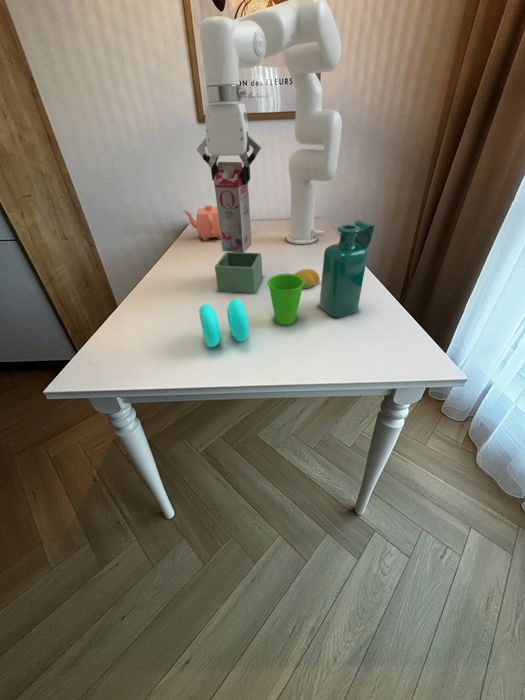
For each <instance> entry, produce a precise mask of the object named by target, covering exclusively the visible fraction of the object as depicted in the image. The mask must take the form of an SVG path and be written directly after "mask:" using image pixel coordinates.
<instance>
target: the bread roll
mask: <svg viewBox="0 0 525 700" xmlns="http://www.w3.org/2000/svg"><path fill="white" fill-rule="evenodd" d="M293 274H295V275H298V276H300V277H302V278H303V279H304V281H305V284H304V286H303V287H302V289H310V288H312V287H313V286H316V285H317V284H318V283H320V279H321V278H320V275H319V273H318V272H317V270H314V269H311V268H305V269H300V270H298V271H296V272H295V273H293Z"/></svg>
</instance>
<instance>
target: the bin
mask: <svg viewBox="0 0 525 700" xmlns="http://www.w3.org/2000/svg"><path fill="white" fill-rule="evenodd" d="M262 260H263V258H262V253H261V252H244V253H238V252H228V251H225V252H224V254H223V255H222V257H221V258H220V259H219V260H218V261H217V263H216V264H215V266H214V270H215V271H214V272H215V278H216V286H217V292H226V293H242V294H243V293H244V294H256V291H257V290H258V288H259V285H260V283H261V280H262V278H263V261H262Z"/></svg>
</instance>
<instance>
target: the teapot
mask: <svg viewBox="0 0 525 700" xmlns="http://www.w3.org/2000/svg"><path fill="white" fill-rule="evenodd" d="M181 211H182V212H183V213H185V214H186V215H187V217H188V220H189V223H190V225H191V226H192V227H193V228H194V229H196V230H197V233H198V235H199V237H200V238H202V241H203V242H205V241H209V240H210V238H216V239H217V240H221V235H220V226H219V218H218V210H217V206H213V205H212V204H211V205H210V204H207V205H204V207H200V208H198V209H197V210H196V220H195V219H194V217H193V216H192V213H191V212H190V211H189V210H185V209H184V210H181Z"/></svg>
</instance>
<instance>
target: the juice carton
mask: <svg viewBox="0 0 525 700" xmlns="http://www.w3.org/2000/svg"><path fill="white" fill-rule="evenodd" d="M217 166H218V171H217V173H216V175H215V178H214V181H213V185H214V193H215V201H216V207H217V210H218V218H219V226H220V235H221V239H220V241H221V243H220V244H221V250H222V252H238V253H246V251H247V250H248V249H249V248H251V246H252V230H251V229H252V227H251V211H250V196H249V195H250V194H249V183H248V184H247V185H244V184H243V173H242V168H243V162H242V161H217Z"/></svg>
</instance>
